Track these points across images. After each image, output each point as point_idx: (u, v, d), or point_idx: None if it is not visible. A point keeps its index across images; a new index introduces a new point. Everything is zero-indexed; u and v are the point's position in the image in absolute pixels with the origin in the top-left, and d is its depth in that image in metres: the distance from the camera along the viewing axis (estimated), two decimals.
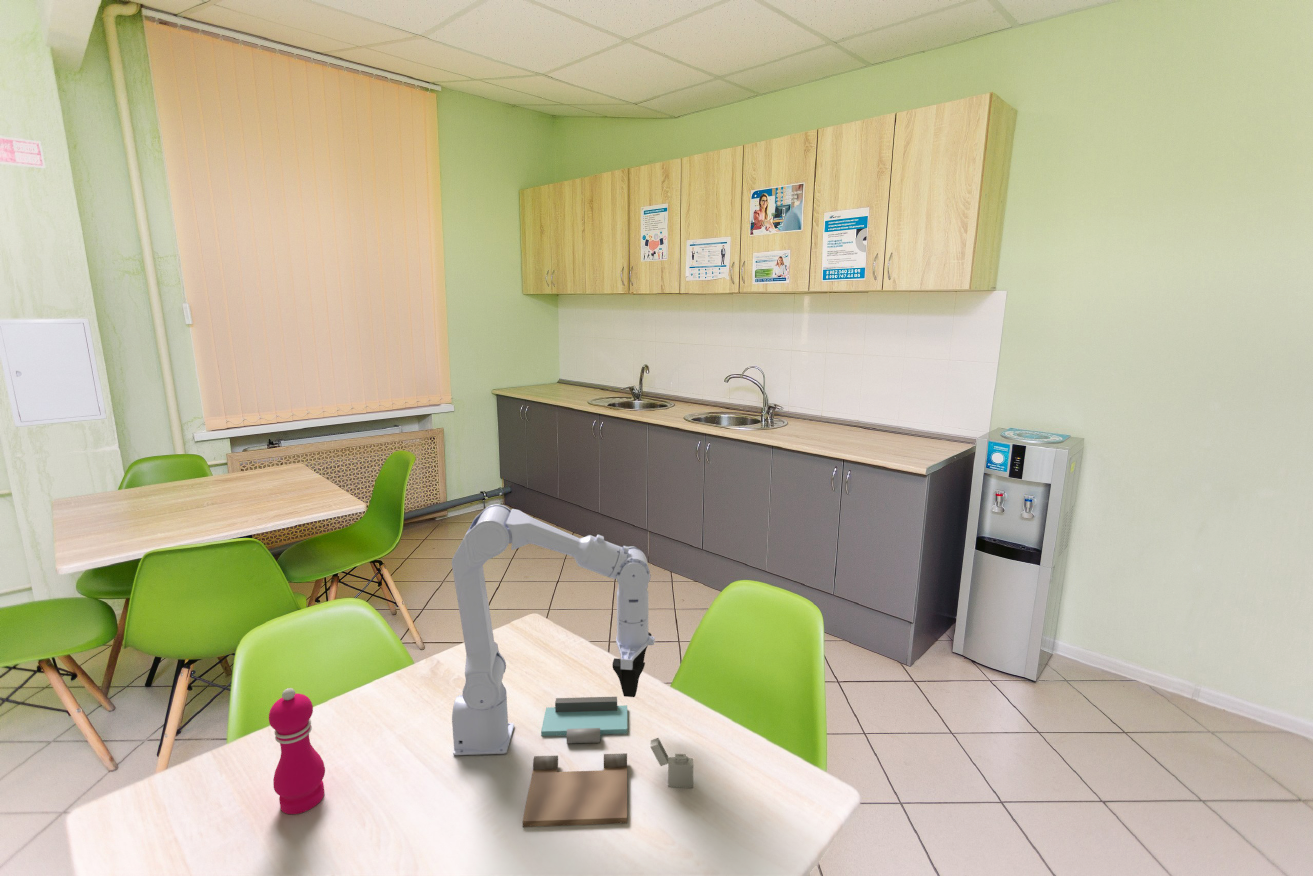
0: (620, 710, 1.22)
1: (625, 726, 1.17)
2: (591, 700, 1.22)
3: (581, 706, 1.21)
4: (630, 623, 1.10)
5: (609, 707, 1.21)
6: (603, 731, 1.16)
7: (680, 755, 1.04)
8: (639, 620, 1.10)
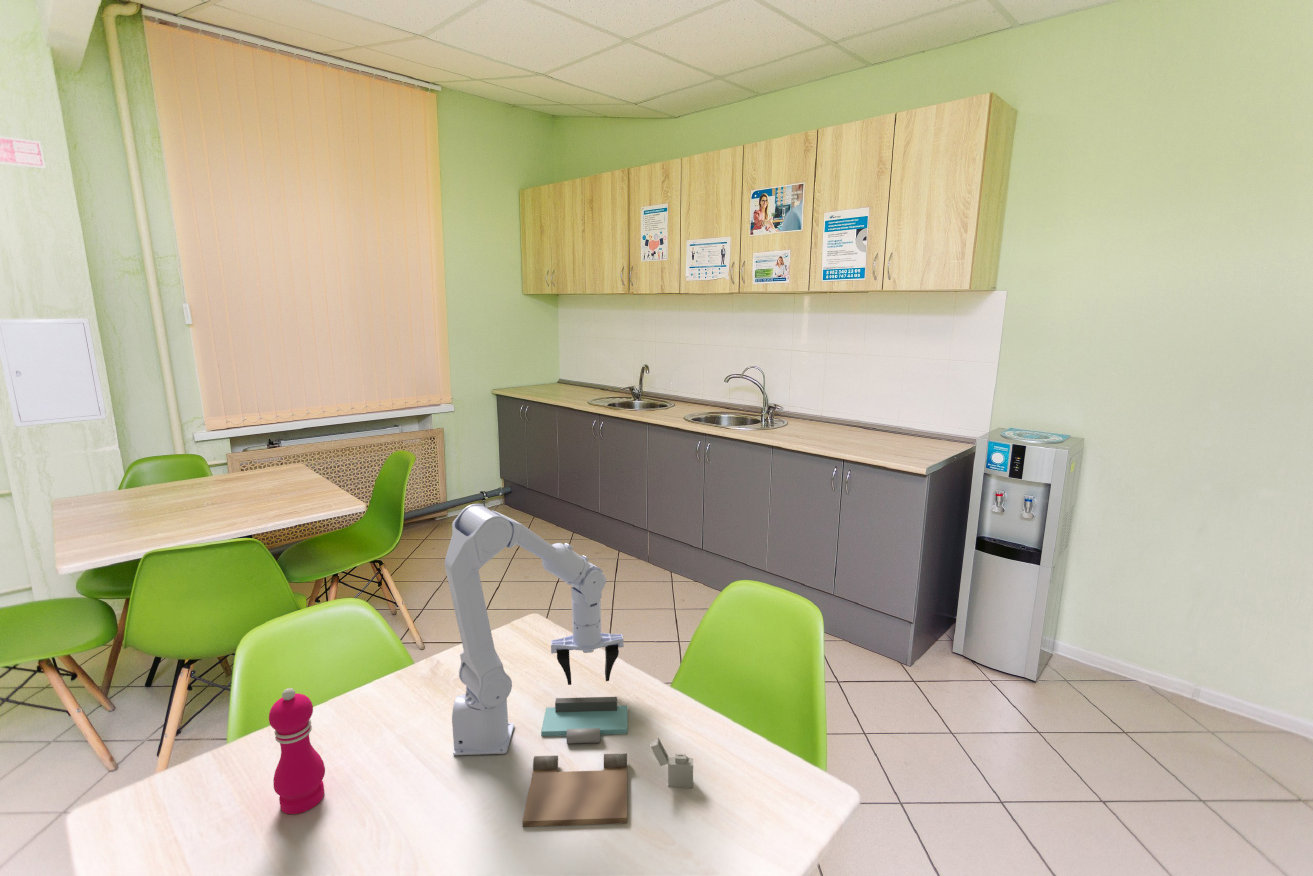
0: (620, 710, 1.22)
1: (625, 726, 1.17)
2: (591, 700, 1.22)
3: (581, 706, 1.21)
4: (572, 620, 1.24)
5: (609, 707, 1.21)
6: (603, 731, 1.16)
7: (680, 755, 1.04)
8: (598, 620, 1.23)
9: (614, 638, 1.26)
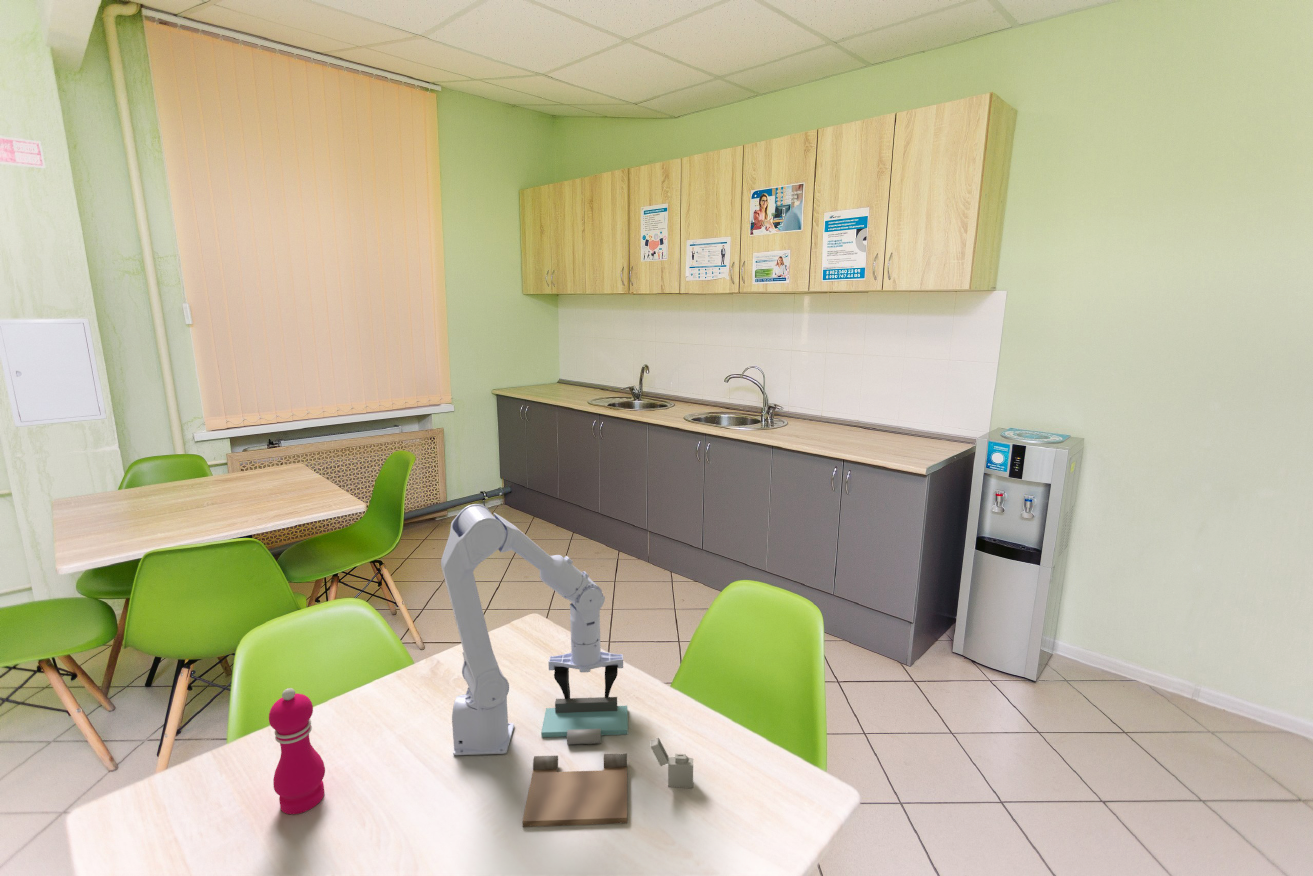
0: (620, 710, 1.21)
1: (625, 727, 1.17)
2: (591, 700, 1.21)
3: (581, 707, 1.21)
4: None
5: (609, 707, 1.21)
6: (603, 732, 1.16)
7: (680, 755, 1.04)
8: (596, 640, 1.19)
9: (614, 658, 1.22)
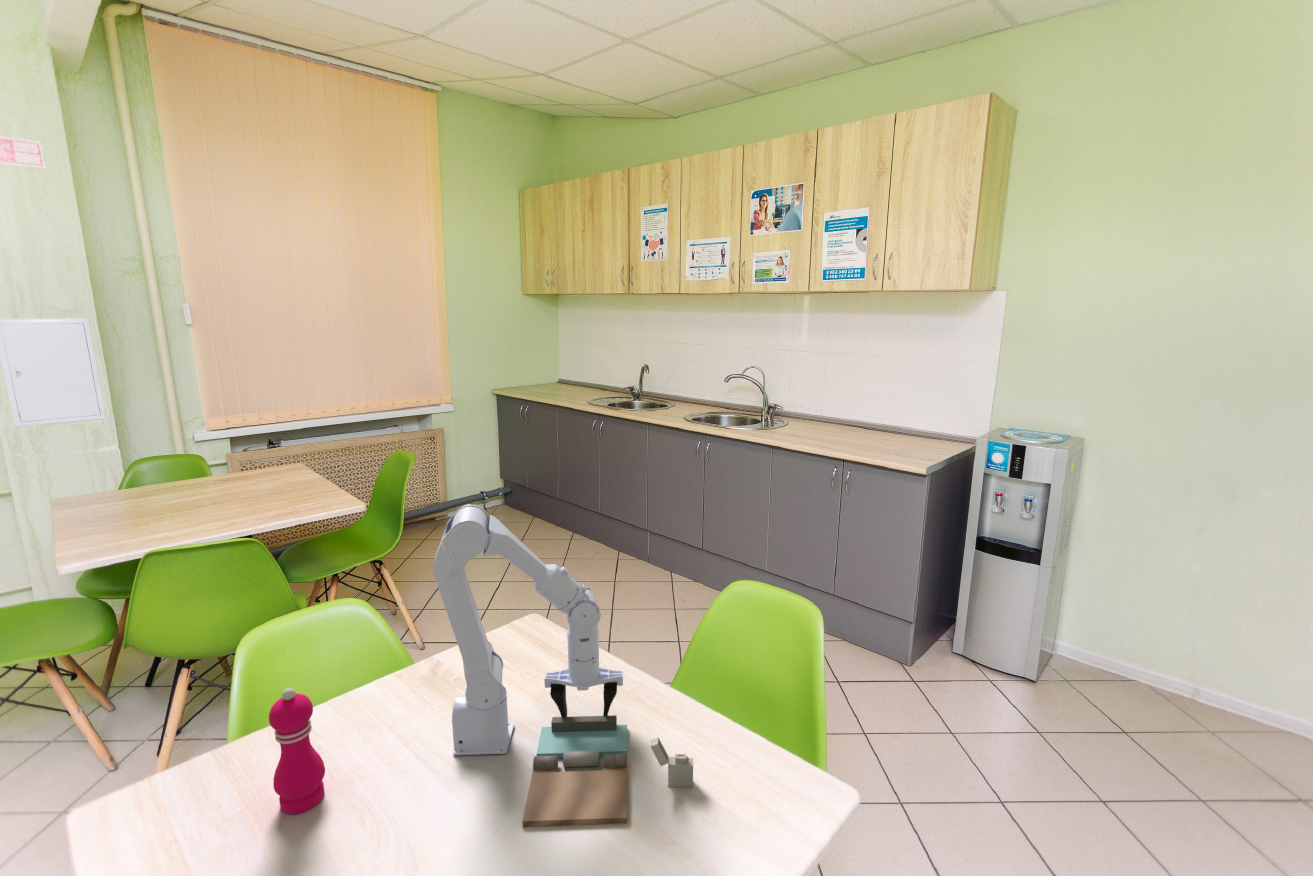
0: (620, 730, 1.16)
1: (625, 748, 1.11)
2: (589, 719, 1.16)
3: (579, 726, 1.15)
4: None
5: (608, 727, 1.15)
6: (602, 753, 1.10)
7: (680, 755, 1.04)
8: (590, 658, 1.13)
9: (613, 675, 1.16)
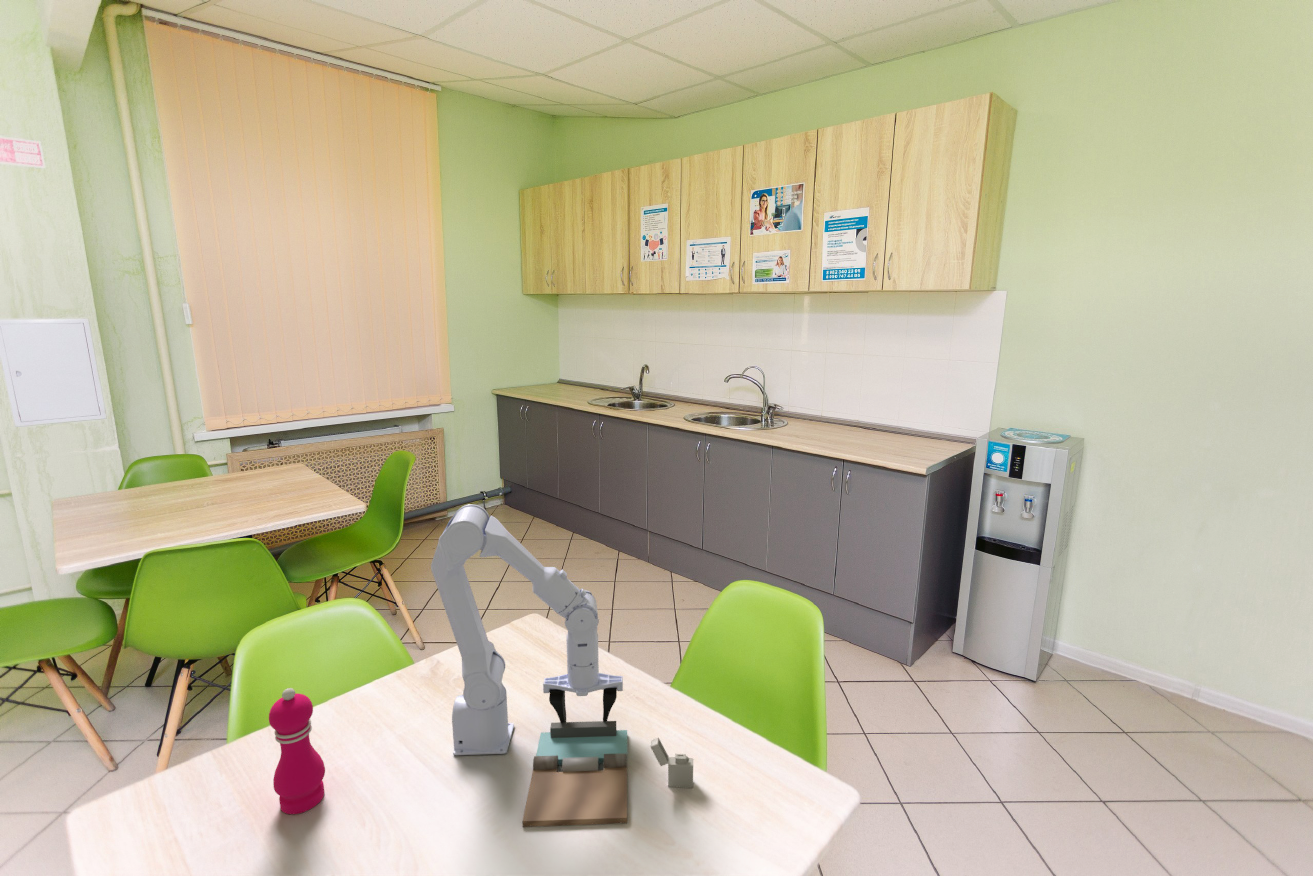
0: (620, 735, 1.14)
1: None
2: (589, 724, 1.14)
3: (578, 731, 1.14)
4: None
5: (607, 732, 1.14)
6: (601, 760, 1.09)
7: (680, 755, 1.04)
8: (588, 663, 1.11)
9: (613, 680, 1.15)
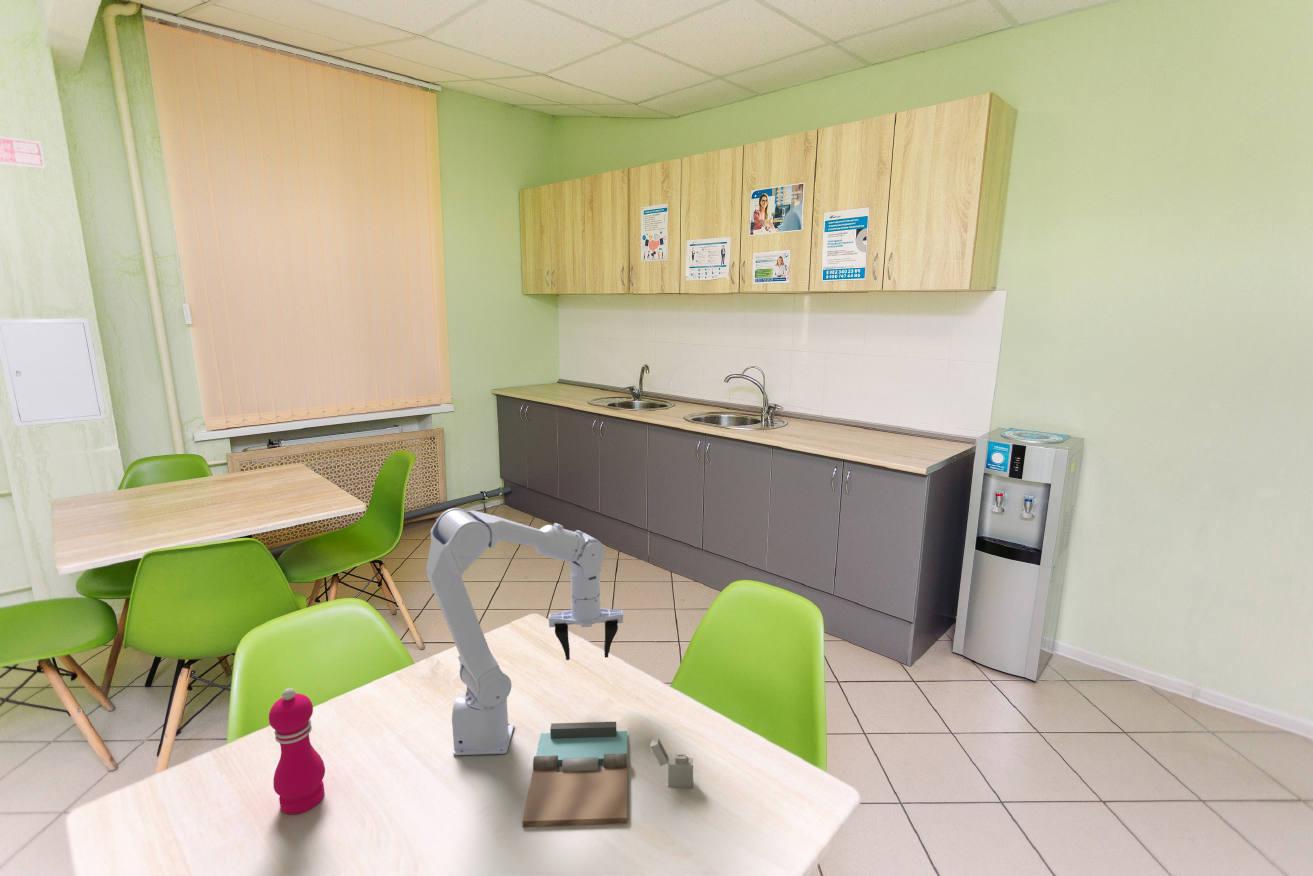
0: (620, 736, 1.14)
1: None
2: (589, 725, 1.14)
3: (578, 732, 1.14)
4: (571, 594, 1.22)
5: (608, 733, 1.14)
6: (601, 760, 1.09)
7: (680, 755, 1.04)
8: (597, 594, 1.21)
9: (613, 613, 1.24)
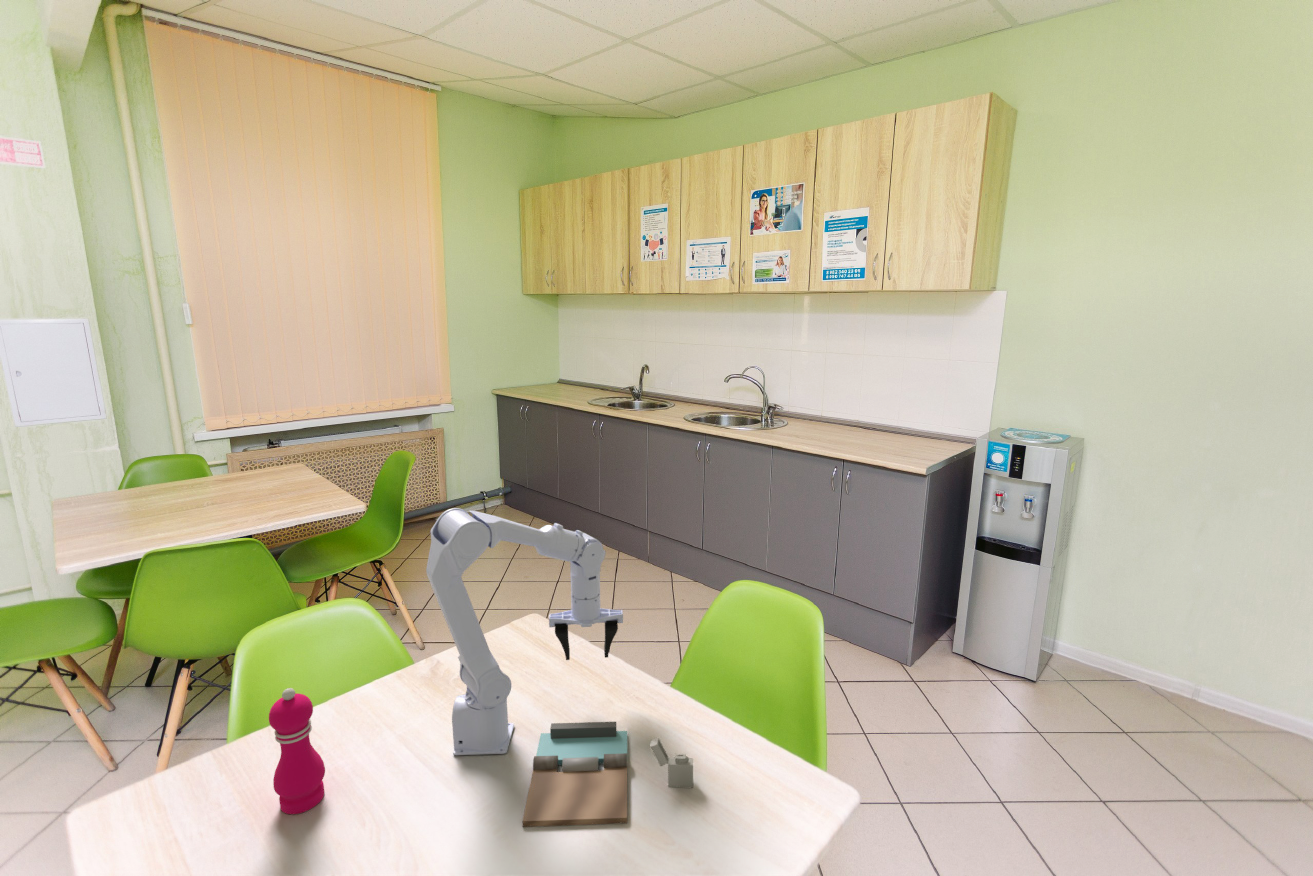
0: (620, 736, 1.14)
1: None
2: (589, 725, 1.14)
3: (578, 732, 1.14)
4: (571, 594, 1.22)
5: (608, 733, 1.14)
6: (601, 760, 1.09)
7: (680, 755, 1.04)
8: (597, 594, 1.21)
9: (613, 613, 1.24)
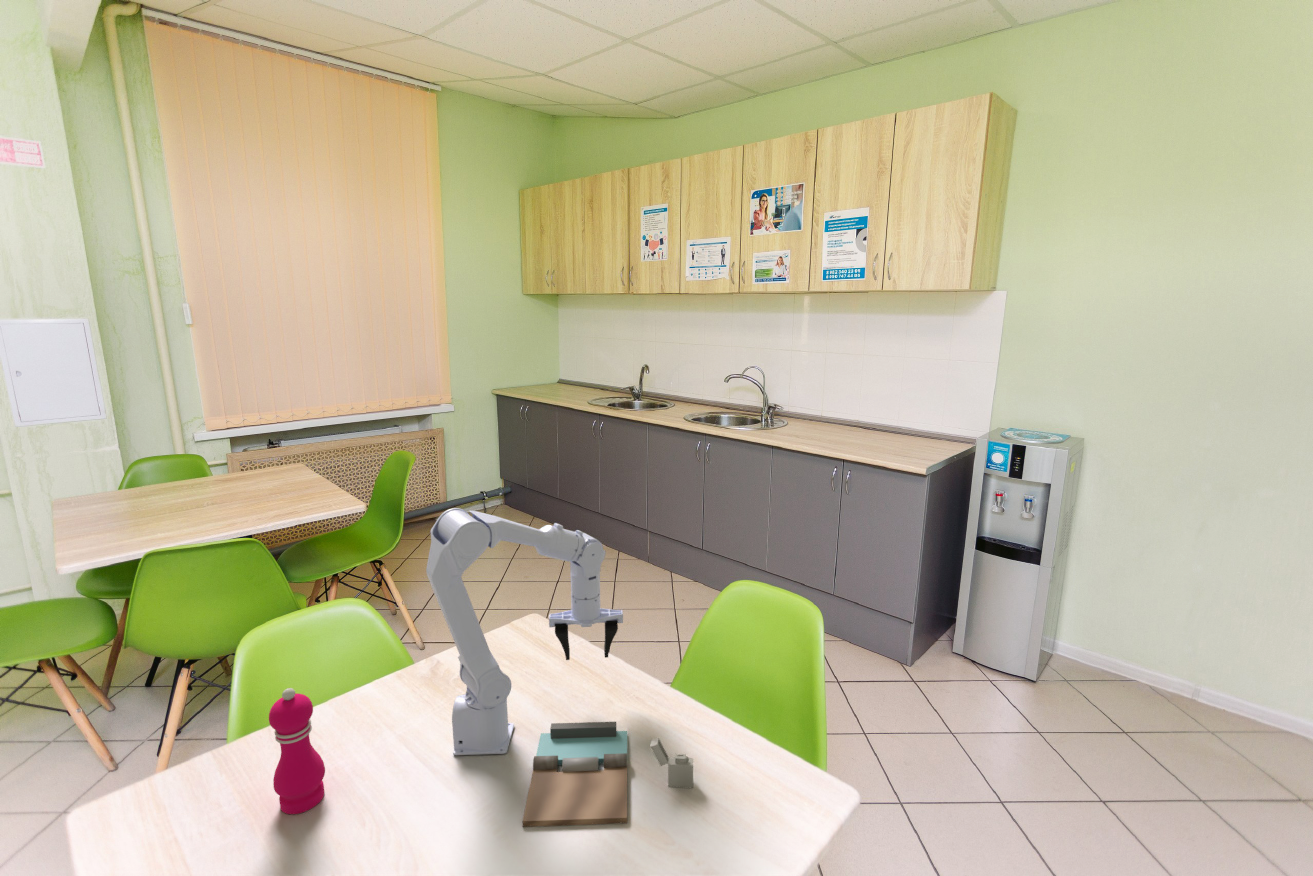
0: (620, 736, 1.14)
1: None
2: (589, 725, 1.14)
3: (578, 732, 1.14)
4: (571, 594, 1.22)
5: (608, 733, 1.14)
6: (601, 760, 1.09)
7: (680, 755, 1.04)
8: (597, 594, 1.21)
9: (613, 613, 1.24)
